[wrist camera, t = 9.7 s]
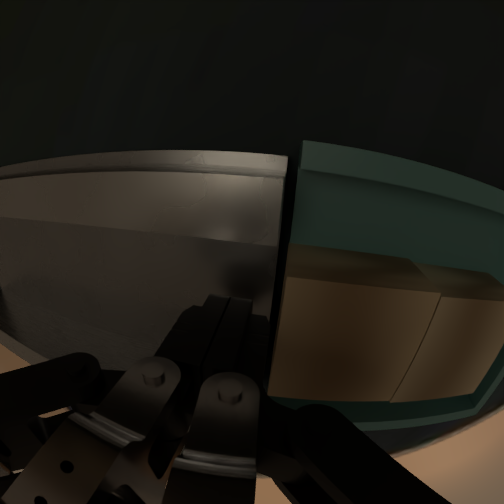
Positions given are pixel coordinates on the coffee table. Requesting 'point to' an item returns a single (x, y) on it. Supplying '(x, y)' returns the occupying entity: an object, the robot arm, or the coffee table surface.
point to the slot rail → (131, 247)
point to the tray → (399, 245)
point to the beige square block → (348, 324)
